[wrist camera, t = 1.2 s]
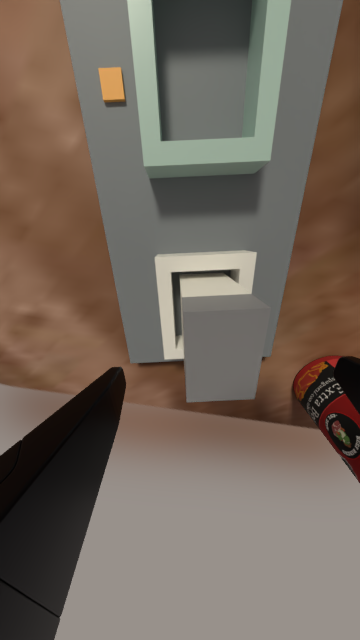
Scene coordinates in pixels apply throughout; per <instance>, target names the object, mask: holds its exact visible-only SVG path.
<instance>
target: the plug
mask: <svg viewBox="0 0 360 640" xmlns="http://www.w3.org/2000/svg"><path fill="white" fill-rule="evenodd" d="M179 276H180V299H181V322H182V339H183V354H184V369H185V384H186V399H187V402H204V401H224V400H245V399H255V394H256V389H257V383H258V378H259V372H260V366H261V361H262V355H263V350H264V344H265V339H266V333H267V328H268V322H269V317H270V311H271V308H270V307H269V306H267V305H266V304H265V303H263V302H262V301H261V300H259V299H258V298H257V297H255V296H254V295H253V294H251V293H250V292H249V291H247V290H246V289H244V288H243V287H242V286H240V285H239V284H238V283H236V282H235V281H234V280H232V279H231V278H230V277H228V276H227V275H226V274H224V273H203V274H182V275H179Z"/></svg>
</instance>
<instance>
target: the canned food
mask: <svg viewBox="0 0 360 640" xmlns="http://www.w3.org/2000/svg"><path fill="white" fill-rule="evenodd" d="M340 357H343V356H327V357H322V358H320V359H317V360H315V361H313V362H311V363H309V364H308V365H306V366H305V367H304V368H303V369H302V370H300V372H299V373H298V374H297V376H296V378H295V380H294V384H293V388H294V391H295V394H296V397H297V399H298V401H299V402H300V403H301V405H302V406H303V407H304V409H305V410H306V411H307V413H308V414H309V415H310V417H311V418H312V419H313V421H314V422H315V423H316V425H317V426H318V427H319V429H320V430H321V432H322V433H323V434H324V436H325V437H326V438H327V440H328V441H329V442H330V444H331V445H332V446H333V448H334V449H335V450H336V452H337V453H338V454H339V456H340V457H341V458H342V460H343V461H344V462H345V464H346V465H347V466H348V468H349V469H350V470H351V472H352V473H353V474H354V476H355V477H356V479H357V480H358V481H359V483H360V414H359V413H358V412H357V410H356V409H355V408H354V406H353V405H352V403H351V402H350V400H349V399H348V397H347V396H346V395H345V393H344V392H343V390H342V389H341V387H340V386H339V384H338V383H337V381H336V380H335V378H334V376H333V371H334V369H335V366H336V364H337V361H338V359H339V358H340Z"/></svg>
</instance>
